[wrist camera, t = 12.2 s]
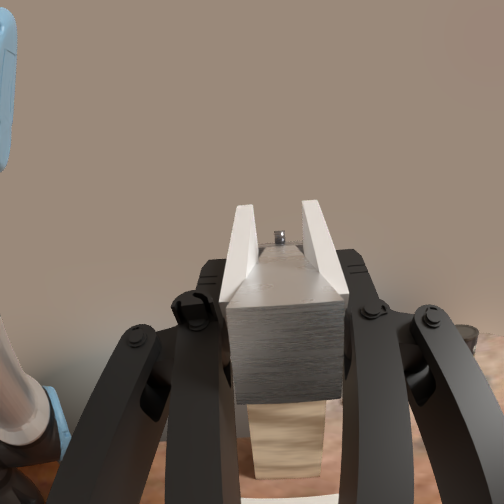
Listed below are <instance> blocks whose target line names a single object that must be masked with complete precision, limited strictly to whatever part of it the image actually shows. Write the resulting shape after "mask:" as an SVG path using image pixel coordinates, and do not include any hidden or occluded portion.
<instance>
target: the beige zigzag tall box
mask: <svg viewBox="0 0 504 504" xmlns="http://www.w3.org/2000/svg"><path fill="white" fill-rule="evenodd" d="M247 410H248V419H249V427H250V436H251V445H252V453H253V461H254V469H255V477H256V479H295V478H309V477H320V471H321V461H322V451H323V440H324V427H325V411H326V400H323V401H312V402H300V403H284V404H247Z"/></svg>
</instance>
